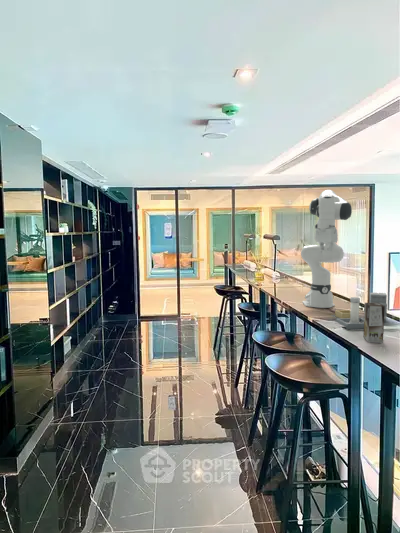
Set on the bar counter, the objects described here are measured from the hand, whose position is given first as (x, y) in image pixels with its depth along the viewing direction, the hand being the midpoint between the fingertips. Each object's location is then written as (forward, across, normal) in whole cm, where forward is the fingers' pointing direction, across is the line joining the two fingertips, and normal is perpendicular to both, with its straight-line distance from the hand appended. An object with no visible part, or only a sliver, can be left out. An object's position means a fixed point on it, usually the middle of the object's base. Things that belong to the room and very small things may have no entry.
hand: (325, 250), depth 216 cm
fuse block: (+37, -7, -9) cm, 39 cm away
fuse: (+36, -22, -6) cm, 43 cm away
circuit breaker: (+37, -16, -22) cm, 46 cm away
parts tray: (+37, -22, -6) cm, 44 cm away
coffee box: (+37, -46, -2) cm, 59 cm away
